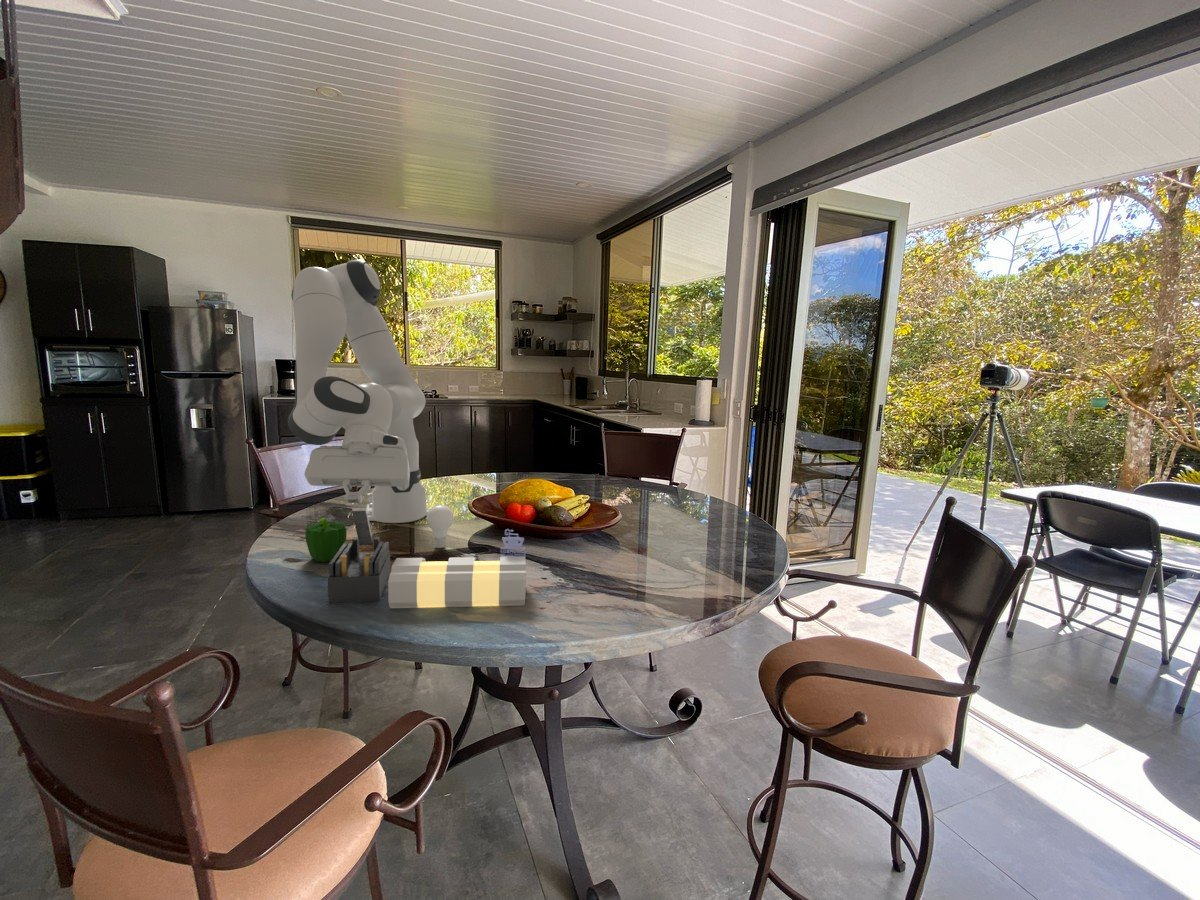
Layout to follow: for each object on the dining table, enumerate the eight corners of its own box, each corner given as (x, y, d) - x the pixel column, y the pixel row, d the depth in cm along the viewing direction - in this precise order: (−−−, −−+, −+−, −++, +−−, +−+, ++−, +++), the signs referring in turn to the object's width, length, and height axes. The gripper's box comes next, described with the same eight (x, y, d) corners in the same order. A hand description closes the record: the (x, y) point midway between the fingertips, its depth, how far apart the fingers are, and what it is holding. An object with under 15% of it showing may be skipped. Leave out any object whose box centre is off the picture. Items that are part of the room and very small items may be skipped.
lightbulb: (445, 553, 127) (445, 509, 126) (421, 550, 129) (421, 507, 127) (457, 545, 134) (458, 503, 132) (434, 542, 135) (434, 500, 133)
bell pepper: (323, 550, 126) (322, 509, 124) (354, 554, 124) (353, 513, 122) (296, 562, 117) (294, 519, 116) (328, 567, 116) (327, 523, 114)
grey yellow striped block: (524, 586, 112) (526, 527, 110) (525, 609, 102) (527, 543, 100) (400, 589, 107) (399, 527, 105) (388, 612, 97) (387, 544, 95)
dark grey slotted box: (344, 575, 112) (344, 537, 110) (390, 574, 114) (389, 536, 112) (328, 602, 99) (327, 559, 98) (379, 600, 101) (378, 558, 100)
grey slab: (359, 546, 110) (360, 542, 111) (372, 546, 111) (373, 542, 112) (351, 511, 102) (352, 507, 103) (365, 511, 103) (366, 507, 104)
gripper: (309, 436, 111) (292, 493, 103) (411, 439, 115) (403, 493, 107) (316, 454, 116) (302, 509, 108) (414, 456, 120) (407, 509, 112)
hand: (353, 501), depth 107 cm, fingers closed
